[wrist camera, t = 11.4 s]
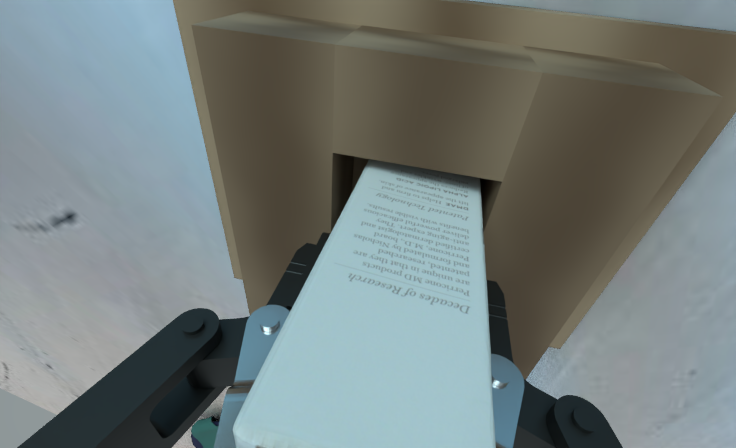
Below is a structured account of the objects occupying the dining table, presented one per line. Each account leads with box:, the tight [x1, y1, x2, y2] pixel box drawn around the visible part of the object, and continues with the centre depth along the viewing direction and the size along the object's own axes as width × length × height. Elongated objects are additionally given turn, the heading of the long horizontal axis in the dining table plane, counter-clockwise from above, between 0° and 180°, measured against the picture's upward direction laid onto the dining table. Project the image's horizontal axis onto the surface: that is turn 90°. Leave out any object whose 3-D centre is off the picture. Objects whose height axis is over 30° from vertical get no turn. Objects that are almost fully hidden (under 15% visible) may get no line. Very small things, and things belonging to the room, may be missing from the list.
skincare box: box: [233, 159, 496, 448], centre depth 11 cm, size 6×4×12 cm
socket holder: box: [173, 0, 736, 380], centre depth 15 cm, size 20×16×4 cm
